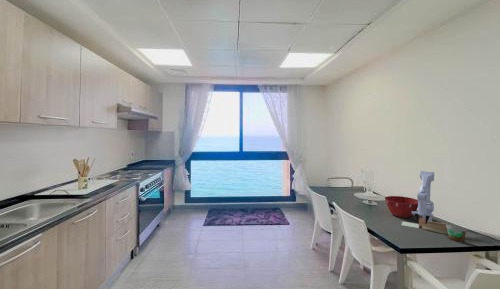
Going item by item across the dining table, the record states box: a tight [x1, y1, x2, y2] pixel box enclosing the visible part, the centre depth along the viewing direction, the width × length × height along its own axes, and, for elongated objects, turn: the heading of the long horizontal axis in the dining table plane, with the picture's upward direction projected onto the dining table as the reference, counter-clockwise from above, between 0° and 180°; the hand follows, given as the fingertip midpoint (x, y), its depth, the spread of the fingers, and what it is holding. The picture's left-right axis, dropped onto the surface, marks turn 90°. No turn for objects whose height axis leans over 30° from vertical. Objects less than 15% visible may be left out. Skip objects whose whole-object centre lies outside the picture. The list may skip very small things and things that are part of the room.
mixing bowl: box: [384, 195, 418, 219], centre depth 234 cm, size 28×28×16 cm
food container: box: [446, 222, 468, 243], centre depth 176 cm, size 12×6×10 cm, turn 21°
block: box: [419, 217, 426, 228], centre depth 203 cm, size 4×4×6 cm
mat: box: [400, 221, 420, 229], centre depth 207 cm, size 12×12×1 cm
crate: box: [421, 221, 451, 235], centre depth 197 cm, size 13×18×4 cm
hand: (422, 224), depth 203 cm, fingers closed on block, 4 cm apart
